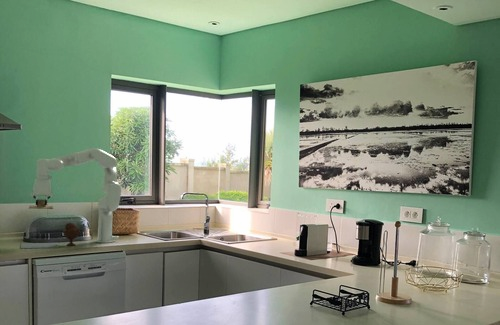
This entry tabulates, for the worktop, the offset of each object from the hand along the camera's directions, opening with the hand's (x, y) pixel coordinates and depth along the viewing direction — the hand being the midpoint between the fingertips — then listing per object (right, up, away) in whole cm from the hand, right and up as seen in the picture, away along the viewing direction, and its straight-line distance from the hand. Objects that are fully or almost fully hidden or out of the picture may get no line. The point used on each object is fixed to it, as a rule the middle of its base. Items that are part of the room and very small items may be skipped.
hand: (41, 205), depth 322 cm
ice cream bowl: (+17, -27, +7) cm, 32 cm away
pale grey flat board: (-1, -26, 0) cm, 26 cm away
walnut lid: (0, -1, 0) cm, 1 cm away
